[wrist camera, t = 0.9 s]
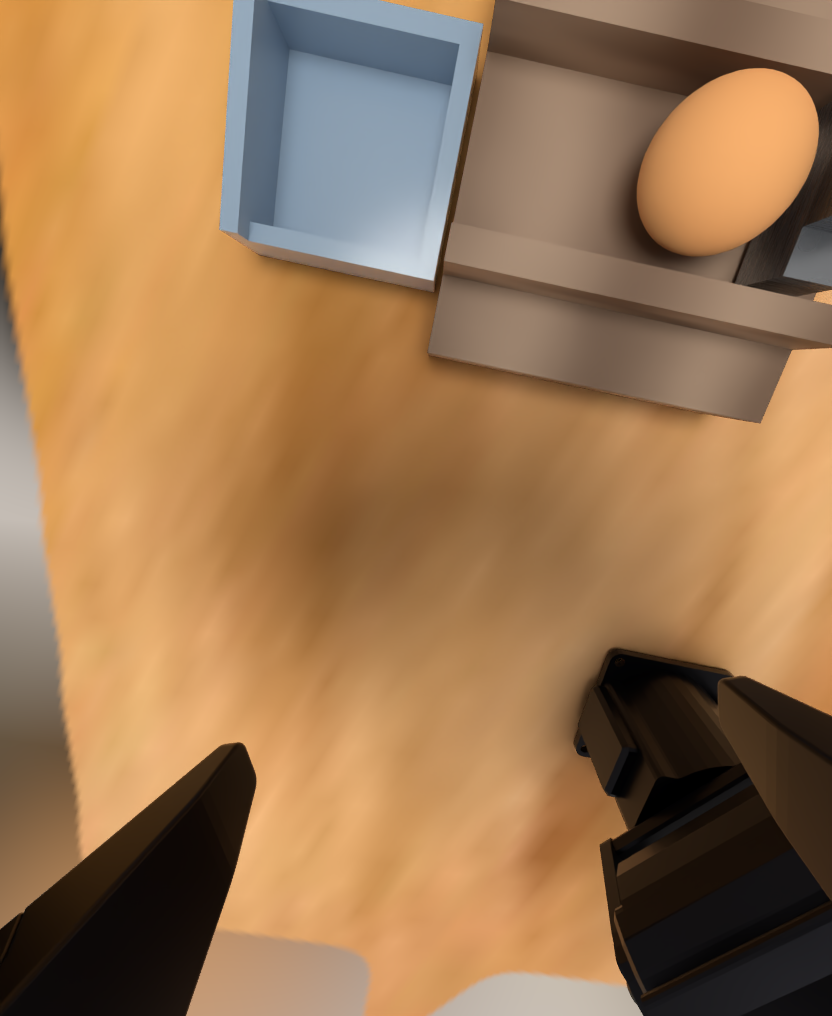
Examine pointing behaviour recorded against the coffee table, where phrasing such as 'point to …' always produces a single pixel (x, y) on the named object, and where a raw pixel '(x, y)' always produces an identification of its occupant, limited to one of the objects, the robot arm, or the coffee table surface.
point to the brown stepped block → (616, 205)
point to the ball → (727, 162)
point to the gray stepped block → (798, 233)
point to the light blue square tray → (346, 133)
